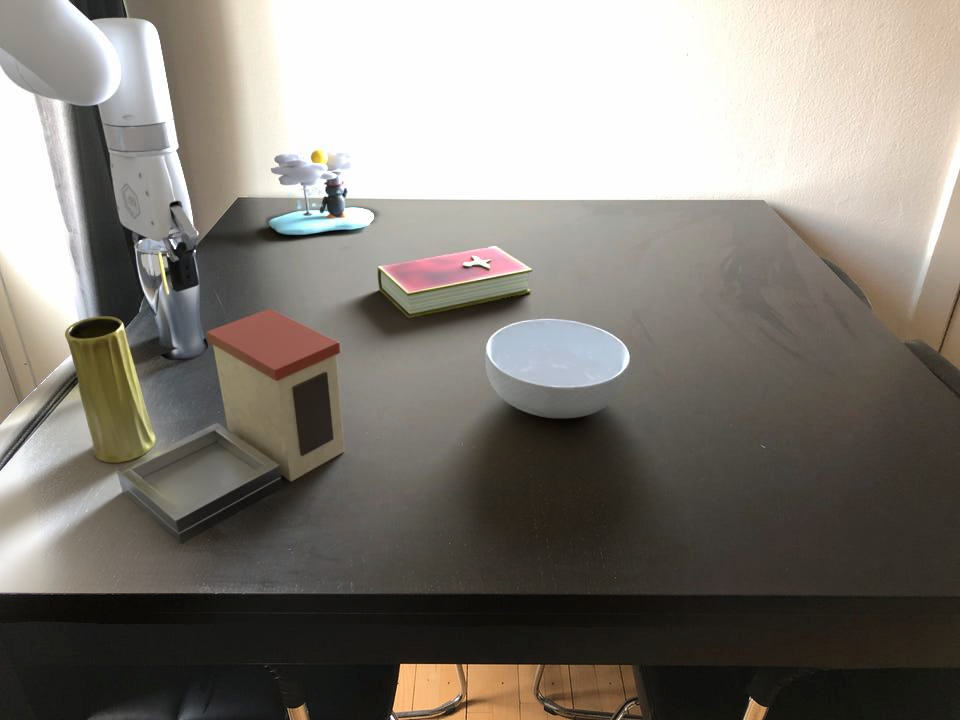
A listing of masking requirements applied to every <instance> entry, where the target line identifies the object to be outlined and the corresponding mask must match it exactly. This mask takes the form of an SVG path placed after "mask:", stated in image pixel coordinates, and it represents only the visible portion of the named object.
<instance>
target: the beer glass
mask: <svg viewBox="0 0 960 720" xmlns="http://www.w3.org/2000/svg"><path fill="white" fill-rule="evenodd" d="M181 241H182V240H181V238H178V239H175V240H172V242H173V244H174V247H175V249H176V247H177V245H178V243H179V242H181ZM133 247H134V251H135V260H136V267H137V273H138V278H139V283H140V286H141V287H140V288H141V289H142V293H143V295H144V298H145V300H146V302H147V305H148V307H149V309H150V311H151V312H150V313H151V314H152V317H153V319H154V321H155V323H156V327H157V330H158V338H159V339H158V341H159V344H160V345H161V346H162V347H166V348H168V349H172V350H170V351H167V352H165V353H162V354H160V357H162V358H164V359H166V360H169V361H185V360H186V361H187V360H190V359H194V358H197V357H199V356H202V355H203V354H204V353H205V352H207V350H208V348H209V342H208V340H207V337H205V334H204V331H203V327H202V324H201V282H200V281H201V280H200V274H199V267H198V263H197V259H196V256H194V258H195V263H196V269H197V274H198V280H199V284H198V285H197V286H195V287H192V288H189V289H186V290H182V291H179V292H176V291H175V290H173V286H172V282H171V277H170V272H169V267H168V262H167V261H169V260H171V259H170V256H169V254H168V252H167V249H166V247H165V245H164V242H163V240H161V241H154V240H151V239H149V238H144V239H142V240H139V241H138V242H136V243H134V245H133Z"/></svg>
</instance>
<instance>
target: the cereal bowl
mask: <svg viewBox="0 0 960 720" xmlns="http://www.w3.org/2000/svg"><path fill="white" fill-rule="evenodd" d="M484 358H485V360H484V363H485V369H486V371H485V372H486V375H487V379H488V381H489V384H490V385H491V387H492V389H493V390H494V392H495V393H496V394H497V395H498V396H499V397H500V398H501V399H502V400H503V401H505V402H506V404H508V405H510V406H512V407H514V408H515V409H517V410H520V411H522V412H525V413H527V414H530V415H533V416H538V417H541V418H542V417H543V418H547V419H575V418H581V417H586V416H589V415H593V414H595V413H598V412H599V411H601V410H604V409H605V408H606V407H608V406H609V405H610V404H612V403H613V402H614V401H615V400H616V399H617V398H618V397H619V395H620V394H621V393H622V391H623V389H624V386H625V385H626V382H627V379H628V376H629V370H630V364H631V357H630V353H629V350H628V348H627V346H626V345H625V344H624V343H623V341H622V340H620V339H619V338H617V337H616V336H615V335H613V334H611V333H610V332H608V331H606V330H603V329H601V328H598V327H596V326H593V325H590V324H586V323H582V322H578V321H573V320H567V319H558V318H557V319H556V318H555V319H554V318H541V319H540V318H539V319H538V318H537V319H529V320H523V321H518V322H515V323H511V324H508V325H506V326H504V327H502V328H500V329H498V330H497V331H496V332H494V333H493V334H492V335H491V336H490V337H489V338H488V340H487V343H486V346H485V354H484Z"/></svg>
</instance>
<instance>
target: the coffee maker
mask: <svg viewBox="0 0 960 720" xmlns="http://www.w3.org/2000/svg"><path fill="white" fill-rule="evenodd" d="M206 339H207V343H208V344H211V345H212V348H213V354H214V359H215V364H216V370H217V376H218V381H219V387H220V392H221V393H220V394H221V397H222V403H223V409H224V415H225V420H226V425H227V428H226V427H224V426H223V425H221V424H220V423H218V422H217V423H214V424H212V425H210V426H207V427H206V428H203V429H202V430H199V431H197V432H195V433H193V434H191V435H188V436H186V437H184V438H182V439H180V440H178V441H175V442H173V443H172V444H169V445H167V446H164V447H161V449H158V450H156V451H154V452H152V453H150V454H147V455H145V456H143V457H140V458H139V459H135V460H133V461H132V462H129V463H128V464H126V465H123V466H122V467H119V468H117V469H116V473H117V476H118V481H119V484H120V488H121V491H122V493H124V494H125V495H126V496H127V497H128V498H129V499H130V500H132V502H134V504H136V505H137V506H138V507H139V508H140V509H142V510H143V511H144V512H145V513H146V514H147V515H148V516H149V517H150V518H152V519H153V520H154V521H155V522H156V523H157V524H158V525H159V526H161V528H163V529H164V530H165V531H166V532H167V533H169V534H170V535H171V536H172V537H173V538H174V539H175V540H176V541H177V542H179V544H182V543H184V542H186V541H188V540H190V539H191V538H192V539H193V537H195V536H197V535H199V534H200V533H202V532H205V530H208V529H210V528H211V527H213V526H215V525H217V524H218V523H220V522H222V521H224V520H225V519H227V518H229V517H231V516H232V515H234V514H236V513H238V512H239V511H241V510H243V509H245V508H247V507H248V506H250V505H252V504H254V503H255V502H258V501H259V500H261V499H262V498H264V497H266V496H268V495H270V494H271V493H273V492H276V491H277V490H278V489H281V488H282V487H283V481H282V477H284V478H285V479H286V480H288V481H289V482H293V481H294V480H296V479H298V478H300V477H302V476H304V475H306V474H308V472H311V471H312V470H314V469H316V468H318V467H320V466H322V465H323V464H326V463H327V462H329V461H330V460H332V459H333V458H336V457H338V456H339V455H341V454H342V453H344V452H345V451H346V450H345V439H344V429H343V417H342V416H343V415H342V405H341V395H340V394H341V393H340V384H339V382H340V381H339V374H338V373H339V372H338V360H337V355H338V354H341V345H340V341H337V340H335V339H334V338H331V337H329V336H327V335H325V334H323V333H321V332H319V331H317V330H315V329H312V328H311V327H309V326H307V325H304V324H302V323H300V322H299V321H297V320H294V319H293V318H291V317H288V316H286V315H284V314H282V313H280V312H278V311H276V310H273V309H272V308H268V309H265V310H262V311H259V312H257V313H254V314H251V315H248V316H245V317H243V318H240V319H237V320H235V321H232V322H230V323H227V324H223V325H220V326H218V327H215V328H213V329H210V330H207V331H206Z"/></svg>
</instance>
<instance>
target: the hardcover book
mask: <svg viewBox="0 0 960 720" xmlns="http://www.w3.org/2000/svg"><path fill="white" fill-rule="evenodd" d="M532 272H533V269H532V268H531V267H530V266H527V265H526V264H524V263H523V262H521V261H520V260H518V259H517V258H515V257H514V256H512V255H510V254H508V253H507V252H505V250H502V249H501V248H499V247H498V246H495V245H494V246H489V247H483V248H477V249H471V250H466V251H465V250H464V251H459V252H454V253H448V254H443V255H437V256H432V257H426V258H420V259H414V260H408V261H402V262H398V263H397V262H396V263H391V264H385V265H379V266H377V285H378V290H379V292H381V294H383V295H384V297H386V298H387V299H388V300H389V301H390V302H391V303H392V304H393V305H394V306H395V307H396V308H397V309H398V310H400V312H401V313H403V315H405V317H406V318H408V319H413V318H416V317H417V318H418V317H422V316H425V315H432V314H436V313H440V312H441V313H442V312H446V311H451V310H455V309H460V308H464V307H468V306H469V307H471V306H475V305H479V304H483V303H488V301H489V302H493V301H498V300H502V298H503V299H508V298H511V296H513V297H517V296H521V295H527V294H531V293H532V290H531V289H530V288H528V287H529V273H532ZM530 292H531V293H530ZM526 293H527V294H526ZM516 295H517V296H516ZM507 297H508V298H507Z"/></svg>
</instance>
